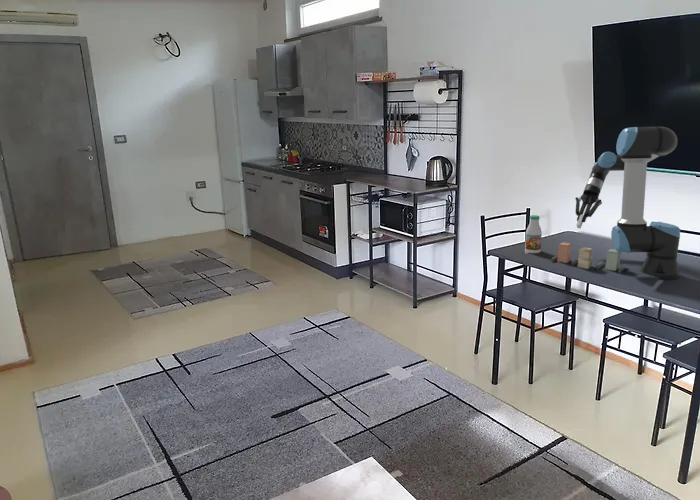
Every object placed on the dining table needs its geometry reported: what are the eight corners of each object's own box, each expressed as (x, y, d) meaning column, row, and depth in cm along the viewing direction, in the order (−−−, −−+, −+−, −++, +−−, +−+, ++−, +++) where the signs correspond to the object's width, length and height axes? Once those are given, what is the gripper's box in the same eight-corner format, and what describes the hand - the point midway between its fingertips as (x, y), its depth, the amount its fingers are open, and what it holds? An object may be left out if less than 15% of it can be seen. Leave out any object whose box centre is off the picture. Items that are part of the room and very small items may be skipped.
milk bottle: (521, 252, 283) (523, 215, 278) (534, 251, 285) (536, 213, 280) (530, 256, 276) (532, 217, 271) (543, 254, 278) (545, 216, 273)
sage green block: (608, 266, 251) (610, 248, 249) (619, 268, 248) (621, 250, 246) (605, 269, 247) (607, 251, 245) (615, 270, 244) (617, 252, 242)
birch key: (581, 264, 255) (582, 247, 253) (591, 266, 252) (592, 248, 250) (577, 267, 251) (579, 249, 249) (587, 268, 248) (589, 250, 246)
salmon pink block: (561, 259, 265) (562, 242, 263) (570, 260, 262) (571, 243, 260) (557, 261, 261) (558, 244, 259) (566, 263, 258) (568, 245, 256)
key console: (558, 259, 268) (558, 253, 268) (625, 270, 249) (626, 264, 248) (550, 264, 261) (550, 258, 260) (619, 275, 241) (620, 269, 241)
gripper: (607, 194, 275) (593, 232, 267) (581, 192, 283) (567, 229, 276) (605, 185, 270) (590, 224, 262) (578, 183, 278) (563, 221, 271)
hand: (578, 226), depth 269 cm, fingers closed
